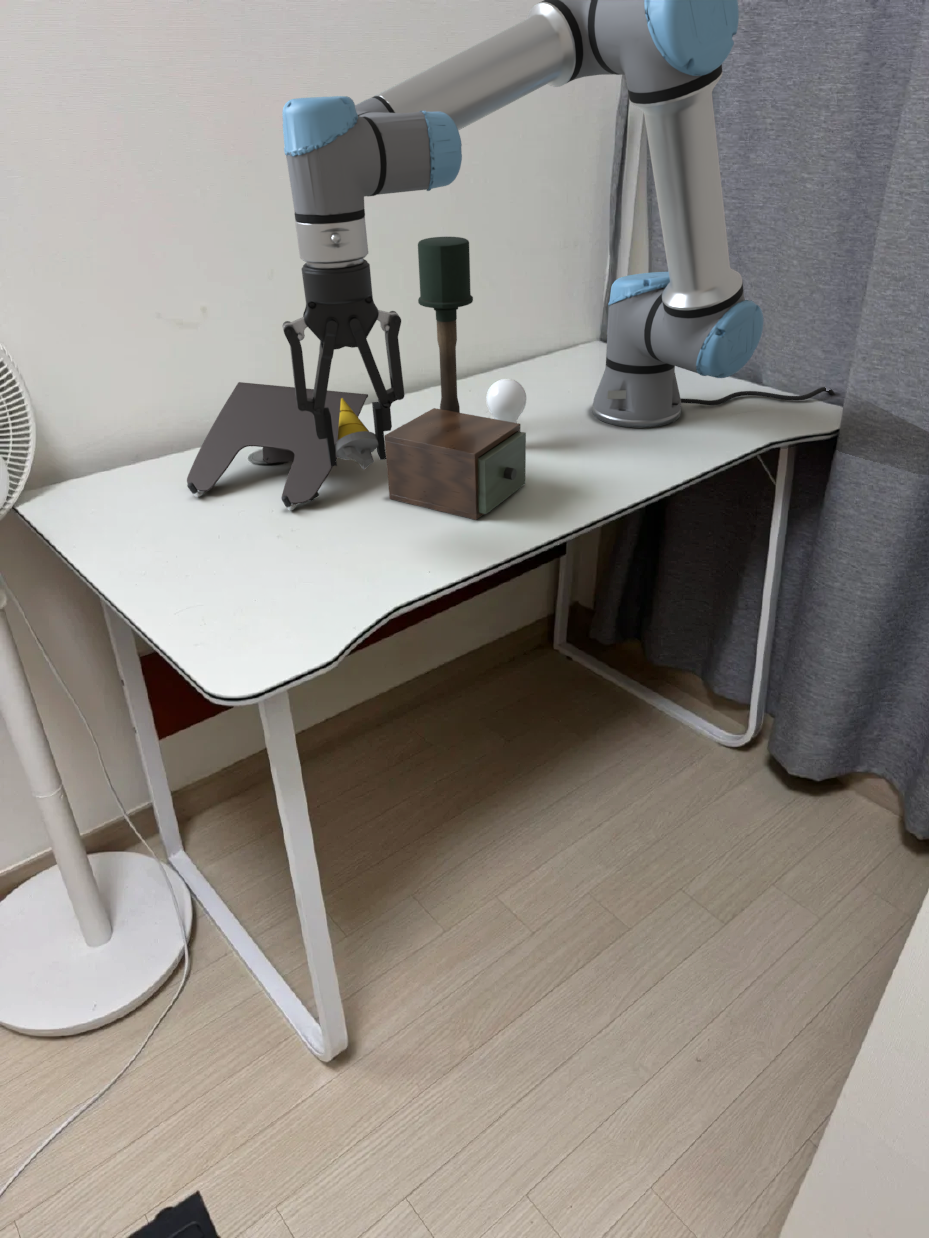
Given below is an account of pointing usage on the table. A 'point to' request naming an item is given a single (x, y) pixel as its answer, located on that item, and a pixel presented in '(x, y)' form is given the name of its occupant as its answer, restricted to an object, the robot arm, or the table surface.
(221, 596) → the table surface
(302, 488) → the laptop tray
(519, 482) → the drawer
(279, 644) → the table surface
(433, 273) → the stick grenade
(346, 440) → the drill bit
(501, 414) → the lightbulb
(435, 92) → the robot arm
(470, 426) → the cabinet
